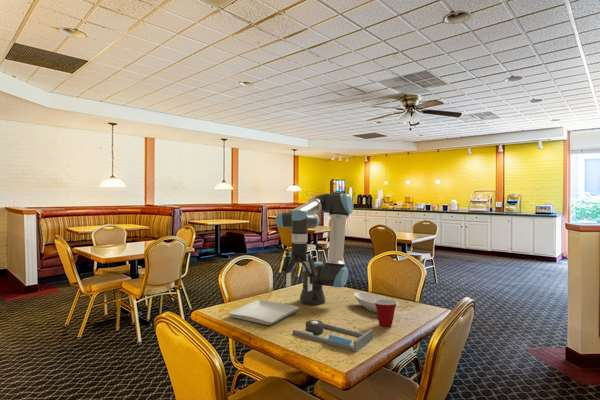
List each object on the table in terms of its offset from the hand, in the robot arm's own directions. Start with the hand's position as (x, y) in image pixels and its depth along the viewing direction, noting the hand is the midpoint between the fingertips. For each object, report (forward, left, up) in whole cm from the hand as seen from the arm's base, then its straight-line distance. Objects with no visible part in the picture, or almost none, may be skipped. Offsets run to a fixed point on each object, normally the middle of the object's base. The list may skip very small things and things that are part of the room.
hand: (299, 288), depth 166 cm
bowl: (+18, +47, -19) cm, 54 cm away
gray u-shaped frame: (+18, 0, -18) cm, 26 cm away
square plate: (-24, +3, -19) cm, 31 cm away
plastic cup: (+32, +27, -19) cm, 46 cm away
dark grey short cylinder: (+9, 0, -18) cm, 20 cm away
